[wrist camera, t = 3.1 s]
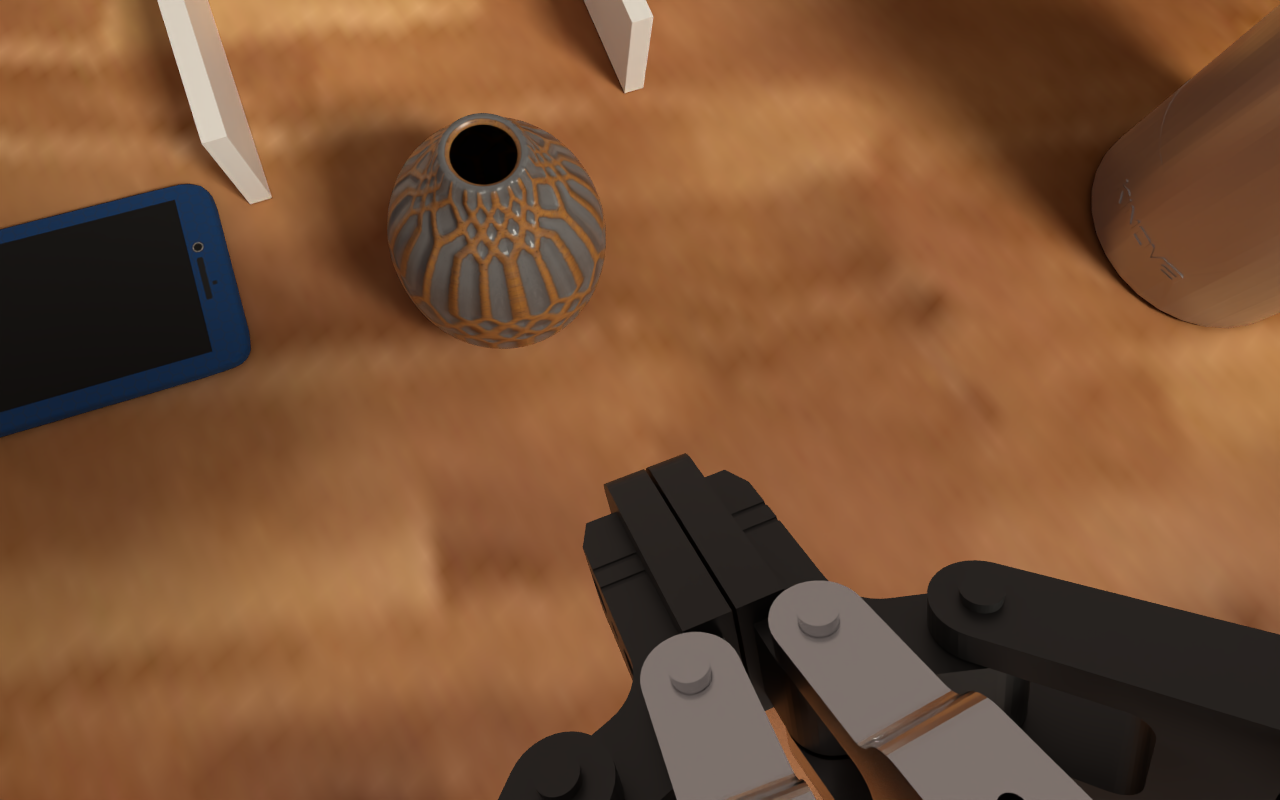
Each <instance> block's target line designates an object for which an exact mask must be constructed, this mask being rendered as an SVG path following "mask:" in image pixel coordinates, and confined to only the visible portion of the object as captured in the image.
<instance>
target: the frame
mask: <svg viewBox="0 0 1280 800" xmlns="http://www.w3.org/2000/svg"><path fill="white" fill-rule="evenodd" d="M157 1H158V4H159V7H160V10H161V14H162V17H163V20H164V23H165V27H166V30H167V33H168V36H169V40H170V43H171V46H172V49H173V53H174V56H175V59H176V62H177V65H178V69H179V72H180V75H181V78H182V82H183V85H184V88H185V91H186V95H187V98H188V101H189V104H190V108H191V111H192V114H193V117H194V121H195V124H196V127H197V130H198V133H199V137H200V140H201V143H202V145H203V146H204V147H205V148H206V150H207V151H208V152H209V153H210V155H211V156H212V157H213V158H214V160H215V161H216V162H217V163H218V165H219V166H220V167H221V168H222V170H223V171H224V172H225V173H226V175H227V176H228V177H229V178H230V180H231V181H232V182H233V183H234V185H235V186H236V187H237V188H238V190H239V191H240V192H241V193H242V195H243V196H244V197H245V198H246V200H247V201H248V202H249V203H250V204H253V203H256V202H260V201H263V200H266V199H270V198H272V196H271V193H270V190H269V187H268V184H267V181H266V178H265V174H264V171H263V168H262V165H261V162H260V159H259V156H258V153H257V150H256V147H255V144H254V141H253V138H252V134H251V131H250V128H249V125H248V122H247V119H246V116H245V113H244V110H243V107H242V104H241V101H240V97H239V94H238V91H237V88H236V85H235V82H234V79H233V76H232V73H231V70H230V67H229V64H228V60H227V57H226V54H225V51H224V48H223V45H222V42H221V39H220V36H219V33H218V30H217V27H216V24H215V20H214V17H213V14H212V11H211V8H210V5H209V2H208V0H157ZM584 2H585V5H586V7H587V9H588V11H589V14H590V16H591V18H592V20H593V23H594V25H595V27H596V29H597V32H598V34H599V36H600V39H601V41H602V43H603V45H604V48H605V50H606V52H607V54H608V57H609V59H610V61H611V64H612V66H613V68H614V70H615V73H616V75H617V77H618V79H619V82H620V84H621V86H622V88H623V91H624V93H627V92H631V91H634V90H637V89H641V88H643V85H644V78H645V71H646V64H647V57H648V50H649V43H650V36H651V29H652V22H653V15H652V13H651V11H650V8H649V6H648V4H647V2H646V0H584Z"/></svg>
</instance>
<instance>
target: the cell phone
mask: <svg viewBox="0 0 1280 800" xmlns="http://www.w3.org/2000/svg"><path fill="white" fill-rule="evenodd" d="M250 350H251V347H250V336H249V330H248V326H247V322H246V318H245V314H244V310H243V306H242V303H241V299H240V295H239V291H238V287H237V283H236V279H235V276H234V272H233V268H232V264H231V260H230V256H229V252H228V249H227V245H226V241H225V237H224V233H223V229H222V225H221V222H220V218H219V214H218V210H217V207H216V204H215V202H214V200H213V198H212V196H211V195H210V193H209V192H208V191H207V190H205V189H204V188H203V187H201V186H198V185H192V184H183V185H177V186H172V187H168V188H163V189H159V190H155V191H151V192H147V193H143V194H139V195H135V196H131V197H127V198H123V199H119V200H115V201H111V202H107V203H103V204H99V205H95V206H91V207H87V208H83V209H79V210H76V211H72V212H68V213H64V214H60V215H56V216H52V217H48V218H44V219H40V220H36V221H32V222H28V223H24V224H20V225H16V226H12V227H8V228H4V229H0V437H3V436H7V435H10V434H14V433H17V432H20V431H24V430H27V429H31V428H34V427H38V426H41V425H44V424H48V423H51V422H55V421H58V420H62V419H65V418H68V417H72V416H75V415H79V414H82V413H86V412H89V411H92V410H96V409H99V408H103V407H106V406H109V405H113V404H116V403H120V402H123V401H127V400H130V399H133V398H137V397H140V396H144V395H147V394H151V393H154V392H157V391H161V390H164V389H168V388H171V387H175V386H178V385H181V384H185V383H188V382H192V381H195V380H198V379H202V378H205V377H208V376H211V375H214V374H217V373H220V372H224V371H226V370H229V369H231V368H234V367H236V366H238V365H240V364H242V363H243V362H244V361H245V360H246V359H247V358H248V356H249V354H250Z"/></svg>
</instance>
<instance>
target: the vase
mask: <svg viewBox="0 0 1280 800" xmlns="http://www.w3.org/2000/svg"><path fill="white" fill-rule="evenodd" d="M387 234H388V244H389V250H390V255H391V259H392V262H393V265H394V268H395V270H396V273H397V275H398V278H399V280H400V282H401V284H402V286H403V287H404V289H405V291H406V292H407V294H408V295H409V297H410V298H411V300H412V301H413V303H414V304H415V305H416V306H417V308H418V309H419V310H420V311H421V312H422V313H423V314H424V315H425V317H427V318H428V319H429V320H430V321H431V322H432V323H433V324H435V325H436V326H437V327H439V328H440V329H442V330H443V331H445V332H446V333H448V334H450V335H452V336H453V337H455V338H457V339H460V340H462V341H464V342H467V343H470V344H473V345H477V346H482V347H488V348H499V349H508V348H518V347H524V346H528V345H531V344H535V343H537V342H540V341H542V340H545V339H547V338H549V337H550V336H552V335H554V334H556V333H557V332H559V331H560V330H562V329H563V328H565V327H566V326H567V325H568V324H569V323H571V322H572V321H573V320H574V319H575V318H576V316H577V315H578V314H579V313H580V312H581V311H582V309H583V308H584V307H585V305H586V304H587V303H588V301H589V299H590V298H591V296H592V294H593V292H594V290H595V288H596V285H597V283H598V280H599V277H600V274H601V271H602V267H603V262H604V256H605V248H606V227H605V219H604V215H603V210H602V206H601V202H600V199H599V197H598V194H597V192H596V189H595V187H594V185H593V183H592V181H591V179H590V177H589V175H588V174H587V172H586V170H585V169H584V167H583V166H582V165H581V163H580V162H579V160H578V159H577V158H576V157H575V156H574V154H573V153H572V152H571V151H570V150H569V149H568V148H567V147H566V146H565V145H563V144H562V143H561V142H560V141H559V140H558V139H556V138H555V137H554V136H552V135H551V134H549V133H547V132H546V131H544V130H542V129H540V128H538V127H536V126H534V125H531V124H529V123H526V122H523V121H519V120H516V119H511V118H505V117H501V116H498V115H494V114H488V113H478V114H472V115H468V116H465V117H463V118H460V119H458V120H457V121H455V122H454V123H452V124H451V125H449V126H447V127H445V128H443V129H441V130H439V131H437V132H436V133H434V134H433V135H432V136H430V137H429V138H428V139H426V140H425V141H424V142H423V143H422V144H420V145H419V146H418V147H417V148H416V149H415V151H414V152H413V153H412V154H411V155H410V157H409V158H408V160H407V161H406V163H405V164H404V166H403V168H402V169H401V171H400V173H399V175H398V177H397V179H396V182H395V185H394V188H393V191H392V194H391V198H390V203H389V209H388V221H387Z"/></svg>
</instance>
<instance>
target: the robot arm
mask: <svg viewBox="0 0 1280 800" xmlns="http://www.w3.org/2000/svg"><path fill="white" fill-rule="evenodd" d="M1092 216H1093V220H1094V225H1095V229H1096V234H1097V236H1098V238H1099V241H1100V243H1101V245H1102V247H1103V250H1104V252H1105V254H1106V256H1107V258H1108V259H1109V261H1110V262H1111V264H1112V265H1113V267H1114V268H1115V269H1116V271H1117V272H1118V274H1119V275H1120V277H1121V278H1122V279H1123V280H1124V281H1125V282H1126V283H1127V284H1128V285H1129V286H1130V287H1131V288H1132V289H1133V290H1134V291H1135V292H1136V293H1137V294H1138V295H1139V296H1141V297H1142V298H1144V299H1145V300H1146V301H1148V302H1149V303H1151V304H1152V305H1153V306H1155V307H1156V308H1158V309H1159V310H1161V311H1163V312H1165V313H1167V314H1169V315H1172V316H1174V317H1176V318H1178V319H1180V320H1182V321H1186V322H1190V323H1194V324H1197V325H1201V326H1205V327H1220V328H1232V327H1238V326H1244V325H1250V324H1253V323H1255V322H1258V321H1260V320H1263V319H1265V318H1268V317H1270V316H1273V315H1275V314H1278V313H1280V5H1278V6H1277V7H1276V8H1275V9H1274V10H1272V11H1271V12H1270V13H1269V14H1268V15H1266V16H1265V17H1264V18H1263V19H1262V20H1261V21H1259V22H1258V23H1257V24H1256V25H1255V26H1253V27H1252V28H1251V29H1250V30H1249V31H1247V32H1246V33H1245V34H1244V35H1243V36H1241V37H1240V38H1239V39H1238V40H1237V41H1236V42H1234V43H1233V44H1232V45H1231V46H1230V47H1228V48H1227V49H1226V50H1225V51H1224V52H1222V53H1221V54H1220V55H1219V56H1218V57H1216V58H1215V59H1214V60H1213V61H1212V62H1211V63H1209V64H1208V65H1207V66H1206V67H1205V68H1203V69H1202V70H1201V71H1200V72H1199V73H1197V74H1196V75H1195V76H1194V77H1193V78H1191V79H1190V80H1189V81H1187V82H1186V83H1185V84H1184V85H1183V86H1181V87H1180V88H1179V89H1178V90H1177V91H1176V92H1174V93H1173V94H1172V95H1171V96H1170V97H1168V98H1167V99H1166V100H1165V101H1164V102H1163V103H1161V104H1160V105H1159V106H1158V107H1157V108H1155V109H1154V110H1153V111H1152V112H1151V113H1149V114H1148V115H1147V116H1146V117H1145V118H1144V119H1142V120H1141V121H1140V122H1139V123H1138V124H1136V125H1135V126H1134V127H1133V128H1132V129H1131V130H1129V131H1128V132H1127V133H1126V134H1125V135H1123V136H1122V137H1121V138H1120V139H1119V140H1118V141H1117V142H1116V143H1115V144H1114V145H1113V146H1112V147H1111V148H1110V149H1109V150H1108V152H1107V153H1106V154H1105V156H1104V158H1103V159H1102V161H1101V163H1100V165H1099V167H1098V169H1097V171H1096V175H1095V179H1094V183H1093V187H1092ZM604 489H605V493H606V497H607V500H608V503H609V507H610V510H611V514H610V515H607V516H604V517H602V518H599V519H597V520H594V521H591V522H589V523H586V529H585V536H584V543H583V550H584V553H585V556H586V559H587V562H588V565H589V568H590V571H591V574H592V577H593V580H594V583H595V586H596V589H597V593H598V596H599V599H600V602H601V605H602V608H603V611H604V613H605V615H606V618H607V620H608V623H609V625H610V627H611V630H612V632H613V634H614V637H615V639H616V642H617V644H618V647H619V649H620V651H621V653H622V656H623V658H624V661H625V663H626V666H627V668H628V670H629V673H630V675H631V678H632V680H633V683H632V687H631V690H630V693H629V695H628V698H627V699H626V701H625V703H624V704H623V706H622V707H621V709H620V710H619V711H618V712H617V714H616V715H614V716H613V717H612V718H611V719H610V720H609V721H608V722H607V723H606V724H605V725H603V726H602V727H601V728H600V729H599V730H597V731H596V732H595V733H594V734H593V735H589V734H585V733H582V732H562V733H557V734H554V735H551V736H548V737H546V738H544V739H542V740H540V741H539V742H537V743H536V744H534V745H533V746H532V747H530V748H529V749H528V750H527V751H526V752H525V753H524V754H523V755H522V756H521V757H520V759H519V760H518V761H517V763H516V764H515V766H514V768H513V770H512V771H511V773H510V776H509V778H508V780H507V782H506V784H505V786H504V788H503V790H502V792H501V795H500V797H499V799H498V800H816V799H815V797H814V795H813V793H812V792H811V790H810V788H809V787H808V785H807V784H806V782H805V781H804V780H803V779H800V780H799V779H798V778H797V777H796V775H795V774H794V772H793V770H792V768H791V766H790V764H789V762H788V760H787V758H786V756H785V753H784V751H783V749H782V747H781V745H780V743H779V741H778V739H777V736H776V734H775V732H774V730H773V728H772V726H771V724H770V722H769V719H768V717H767V715H766V713H765V711H766V710H768V709H770V708H773V707H774V708H775V710H776V711H777V713H778V715H779V716H780V718H781V720H782V721H783V723H784V725H785V727H786V733H787V739H788V744H789V747H790V750H791V752H792V754H793V756H794V758H795V759H796V760H797V762H798V763H799V765H800V766H801V768H802V769H803V771H804V772H805V774H806V775H807V776H808V778H809V779H810V781H811V782H812V784H813V785H814V787H815V788H816V790H817V791H818V792H819V794H820V795H821V797H822V798H823V800H1280V635H1279V634H1275V633H1271V632H1267V631H1263V630H1259V629H1255V628H1251V627H1247V626H1243V625H1239V624H1235V623H1231V622H1227V621H1223V620H1219V619H1215V618H1211V617H1207V616H1203V615H1199V614H1195V613H1191V612H1187V611H1183V610H1179V609H1175V608H1171V607H1167V606H1163V605H1159V604H1155V603H1151V602H1147V601H1143V600H1139V599H1135V598H1131V597H1127V596H1123V595H1119V594H1116V593H1112V592H1108V591H1104V590H1100V589H1096V588H1092V587H1088V586H1084V585H1080V584H1076V583H1072V582H1068V581H1064V580H1060V579H1056V578H1052V577H1048V576H1044V575H1040V574H1036V573H1032V572H1028V571H1024V570H1020V569H1016V568H1012V567H1008V566H1004V565H1000V564H996V563H992V562H987V561H976V560H974V561H962V562H957V563H954V564H951V565H949V566H946V567H944V568H943V569H941V570H940V571H939V572H937V573H936V574H935V575H934V577H933V578H932V579H931V581H930V583H929V586H928V590H927V594H920V595H912V596H904V597H896V598H887V599H870V598H864V597H860V596H859V595H858V594H856V593H855V592H854V591H852V590H851V589H849V588H848V587H845V586H843V585H841V584H838V583H834V582H829V581H828V580H827V579H826V578H825V577H824V576H823V574H822V573H821V572H820V571H819V569H818V568H817V567H816V566H815V564H814V563H813V562H812V561H811V559H810V558H809V557H808V556H807V554H806V553H805V552H804V551H803V549H802V548H801V547H800V546H799V544H798V543H797V542H796V541H795V539H794V538H793V537H792V535H791V534H790V533H789V532H788V530H787V529H786V528H785V527H784V525H783V524H782V523H781V522H780V520H779V521H778V520H777V517H776V515H775V514H774V513H773V512H772V510H771V509H770V508H769V507H768V505H765V503H764V500H763V499H762V498H761V497H760V495H759V494H758V493H757V492H756V490H755V489H754V488H753V487H752V485H751V484H750V483H749V482H748V481H746V480H744V479H742V478H740V477H738V476H736V475H734V474H732V473H730V472H728V471H726V470H723V471H720V472H718V473H715V474H713V475H710V476H707V477H704V476H703V475H702V473H701V472H700V471H699V469H698V468H697V466H696V465H695V464H694V462H693V461H692V459H691V458H690V457H689V456H688V455H687V454H686V453H685V454H682V455H679V456H677V457H674V458H671V459H669V460H666V461H664V462H661V463H658V464H656V465H653V466H650V467H648V468H646V471H645V470H644V469H643V470H640V471H638V472H635V473H632V474H630V475H627V476H624V477H622V478H619V479H617V480H614V481H611V482H609V483H606V484H604Z"/></svg>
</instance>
